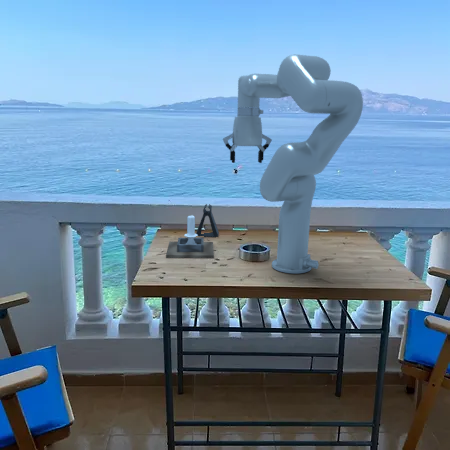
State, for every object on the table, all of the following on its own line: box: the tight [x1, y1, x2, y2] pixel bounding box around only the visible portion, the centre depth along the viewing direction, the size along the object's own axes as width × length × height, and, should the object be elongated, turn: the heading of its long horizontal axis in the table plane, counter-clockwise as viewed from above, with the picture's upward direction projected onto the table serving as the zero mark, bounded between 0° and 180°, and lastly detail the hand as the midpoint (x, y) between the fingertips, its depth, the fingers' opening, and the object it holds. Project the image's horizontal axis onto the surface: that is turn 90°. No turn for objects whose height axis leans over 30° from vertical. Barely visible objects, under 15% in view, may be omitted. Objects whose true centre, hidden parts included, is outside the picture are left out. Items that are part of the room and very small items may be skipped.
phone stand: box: [195, 203, 220, 238], centre depth 180 cm, size 9×6×12 cm, turn 88°
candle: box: [183, 214, 198, 244], centre depth 159 cm, size 5×5×12 cm
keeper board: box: [165, 237, 215, 259], centre depth 160 cm, size 16×16×4 cm
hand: (246, 162), depth 163 cm, fingers open, 9 cm apart
